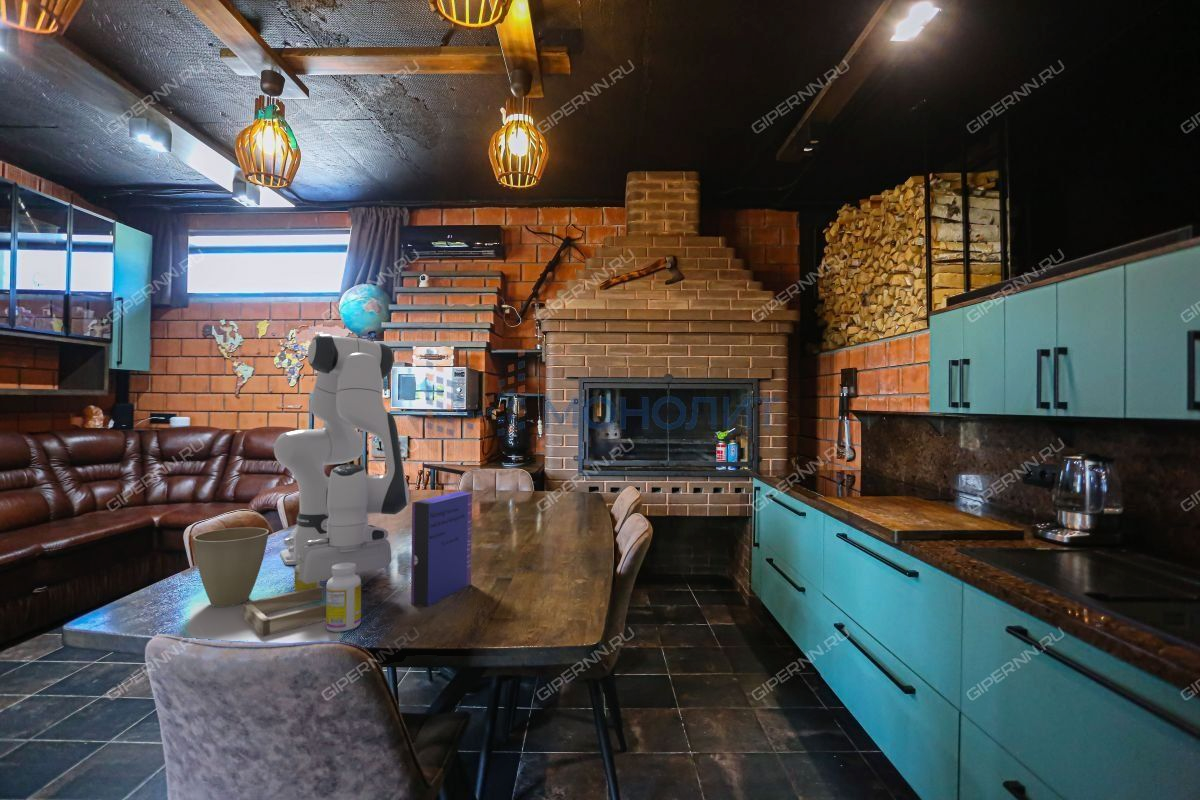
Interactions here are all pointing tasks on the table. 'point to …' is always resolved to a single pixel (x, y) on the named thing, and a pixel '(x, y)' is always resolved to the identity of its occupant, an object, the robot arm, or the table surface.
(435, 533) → the purple book
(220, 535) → the plant pot
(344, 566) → the supplement bottle
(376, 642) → the table surface
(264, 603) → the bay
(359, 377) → the robot arm
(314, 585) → the supplement bottle
